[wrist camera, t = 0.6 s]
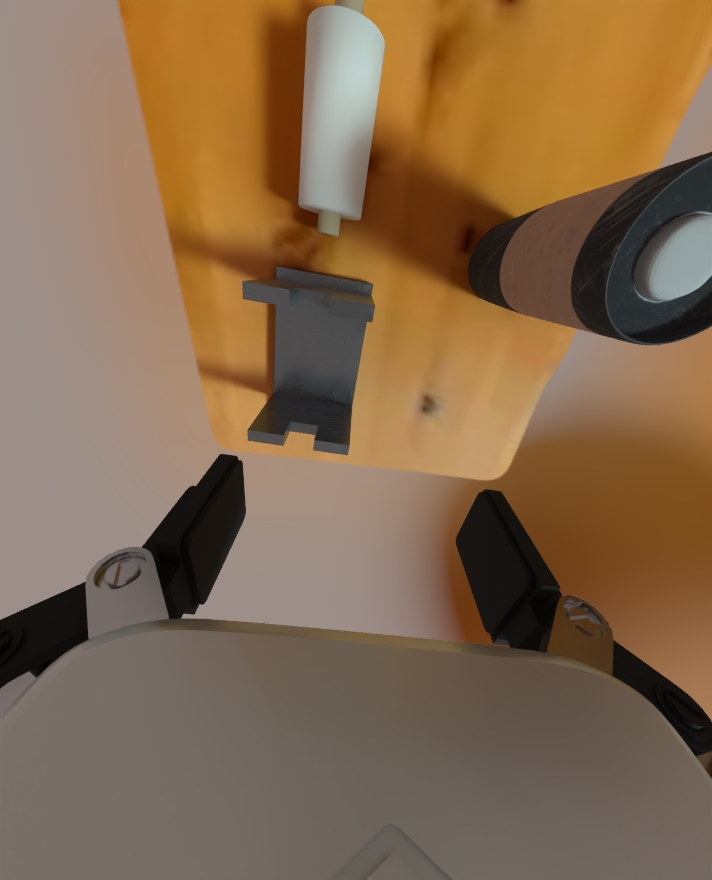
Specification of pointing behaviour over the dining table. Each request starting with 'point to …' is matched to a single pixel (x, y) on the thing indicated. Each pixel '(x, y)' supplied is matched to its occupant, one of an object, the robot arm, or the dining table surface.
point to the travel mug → (610, 258)
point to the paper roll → (338, 111)
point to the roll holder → (312, 355)
